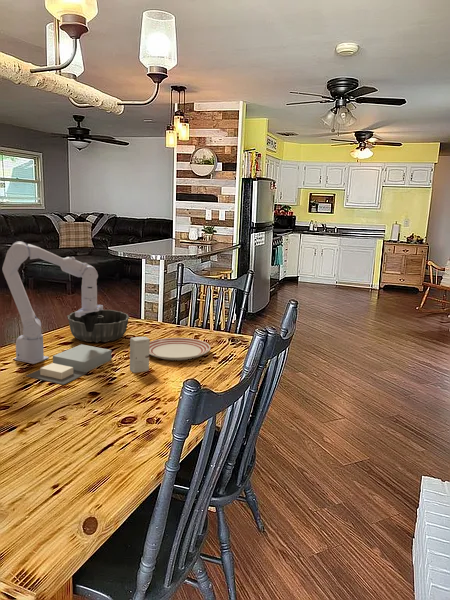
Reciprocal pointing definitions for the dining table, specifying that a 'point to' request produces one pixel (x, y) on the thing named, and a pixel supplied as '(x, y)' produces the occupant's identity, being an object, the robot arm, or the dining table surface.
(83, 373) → the mat
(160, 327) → the dining table surface
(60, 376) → the cream rectangular block
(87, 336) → the bundt pan
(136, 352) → the skincare box
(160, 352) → the dinner plate
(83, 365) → the grey flat block
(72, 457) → the dining table surface
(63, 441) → the dining table surface
